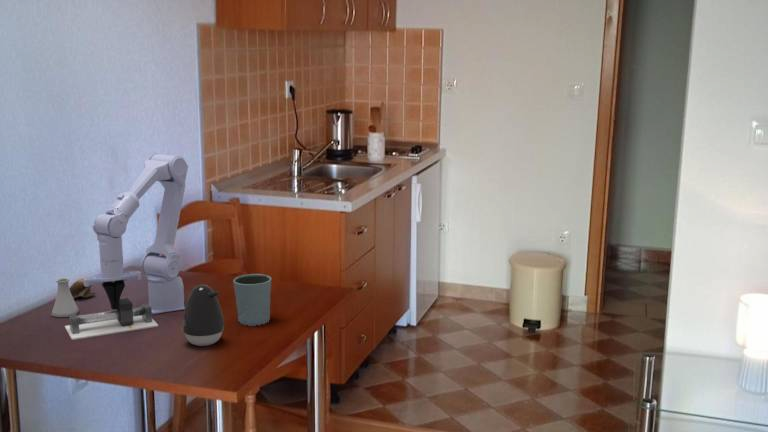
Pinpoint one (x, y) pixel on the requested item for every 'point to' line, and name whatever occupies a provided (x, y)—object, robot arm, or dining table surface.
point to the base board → (109, 328)
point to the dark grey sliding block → (125, 311)
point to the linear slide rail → (107, 317)
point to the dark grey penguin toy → (203, 317)
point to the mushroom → (80, 289)
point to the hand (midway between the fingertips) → (114, 308)
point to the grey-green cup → (253, 298)
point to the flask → (64, 300)
